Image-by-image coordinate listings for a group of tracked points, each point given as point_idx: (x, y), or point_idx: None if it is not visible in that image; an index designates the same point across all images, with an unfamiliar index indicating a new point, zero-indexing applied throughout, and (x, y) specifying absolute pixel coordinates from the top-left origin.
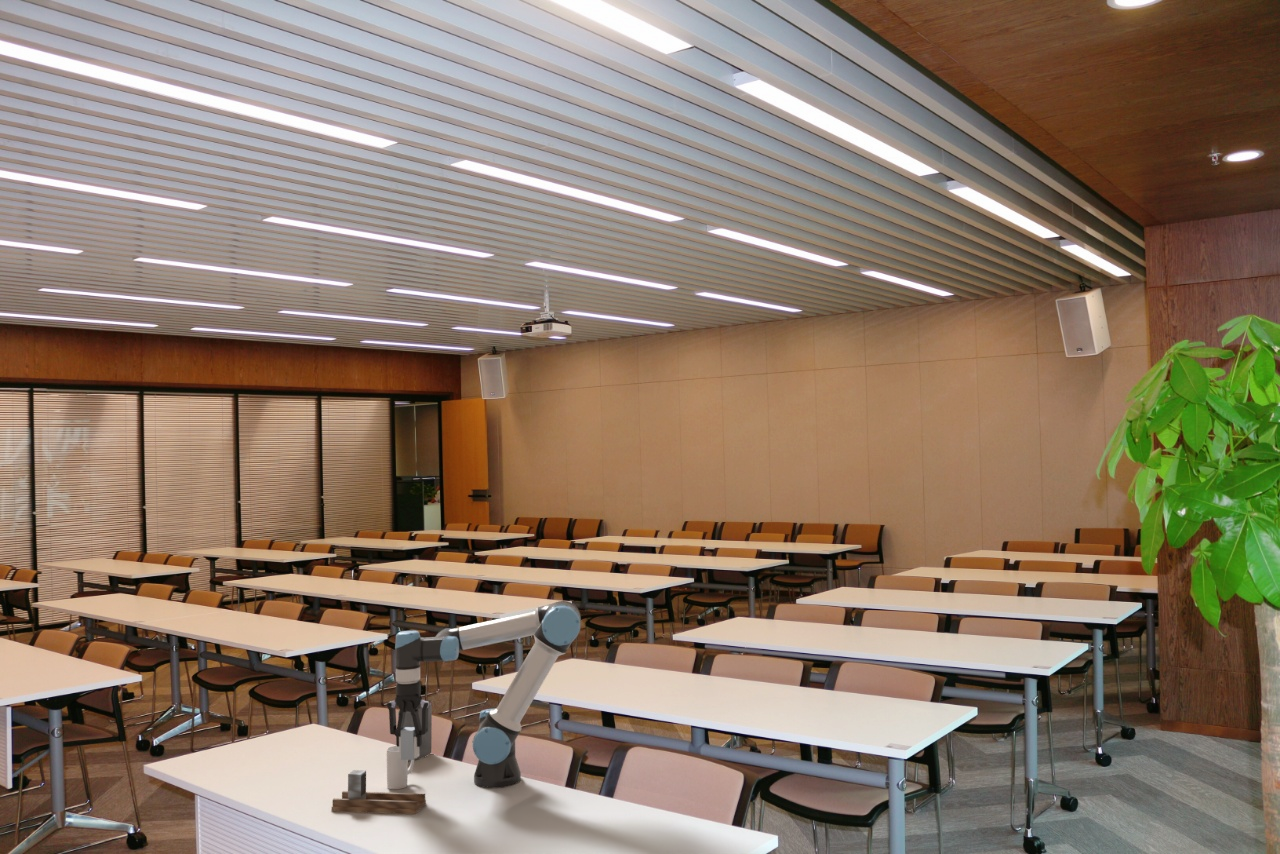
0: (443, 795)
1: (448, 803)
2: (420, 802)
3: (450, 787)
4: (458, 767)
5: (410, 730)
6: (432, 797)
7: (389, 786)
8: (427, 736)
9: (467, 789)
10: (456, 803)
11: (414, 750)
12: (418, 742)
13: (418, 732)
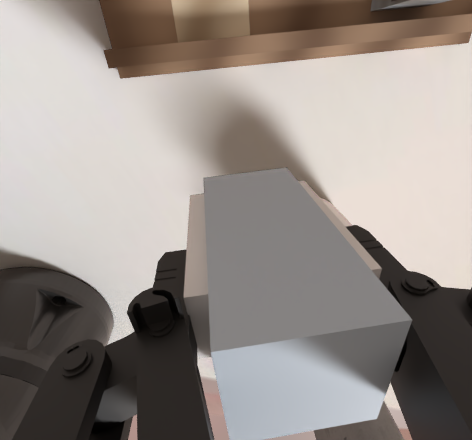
0: (118, 179)
1: (39, 101)
2: (121, 35)
3: (142, 247)
4: (207, 360)
5: (255, 348)
6: (143, 153)
7: (327, 201)
8: (322, 438)
9: (79, 244)
10: (8, 108)
11: (203, 218)
12: (174, 272)
13: (150, 352)
